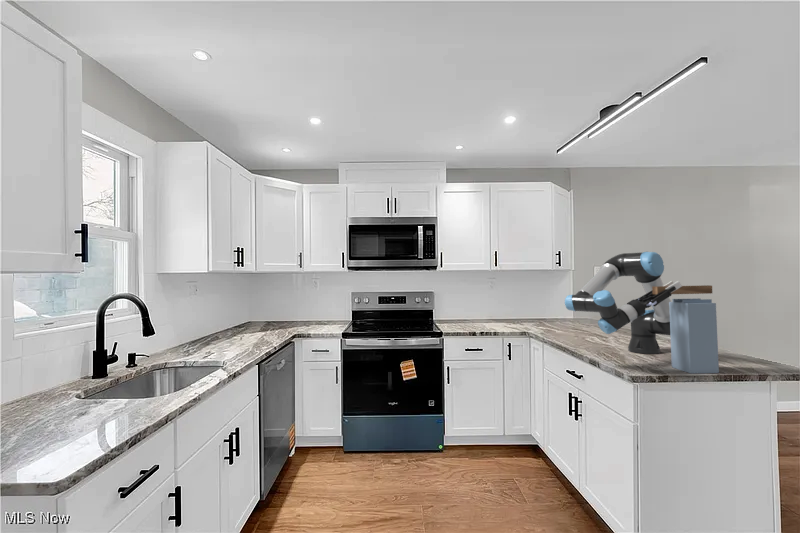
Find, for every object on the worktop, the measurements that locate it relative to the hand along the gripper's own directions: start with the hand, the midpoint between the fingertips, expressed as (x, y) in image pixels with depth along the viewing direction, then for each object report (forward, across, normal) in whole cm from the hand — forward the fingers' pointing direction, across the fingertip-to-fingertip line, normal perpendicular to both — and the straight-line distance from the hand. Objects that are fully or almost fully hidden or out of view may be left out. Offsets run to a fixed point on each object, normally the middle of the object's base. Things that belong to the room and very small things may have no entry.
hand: (676, 283), depth 174 cm
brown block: (0, 0, -5) cm, 5 cm away
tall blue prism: (-14, 0, -36) cm, 39 cm away
